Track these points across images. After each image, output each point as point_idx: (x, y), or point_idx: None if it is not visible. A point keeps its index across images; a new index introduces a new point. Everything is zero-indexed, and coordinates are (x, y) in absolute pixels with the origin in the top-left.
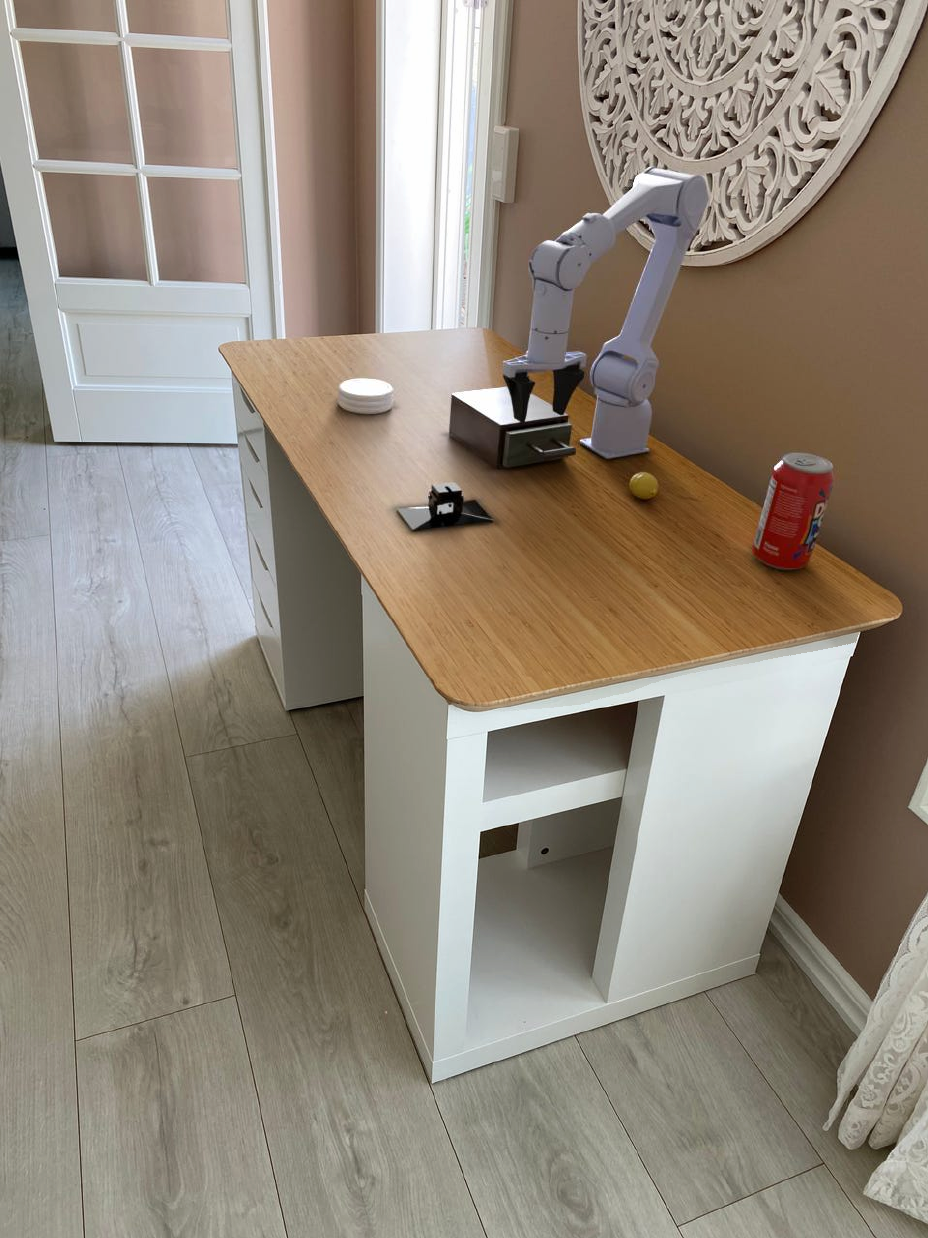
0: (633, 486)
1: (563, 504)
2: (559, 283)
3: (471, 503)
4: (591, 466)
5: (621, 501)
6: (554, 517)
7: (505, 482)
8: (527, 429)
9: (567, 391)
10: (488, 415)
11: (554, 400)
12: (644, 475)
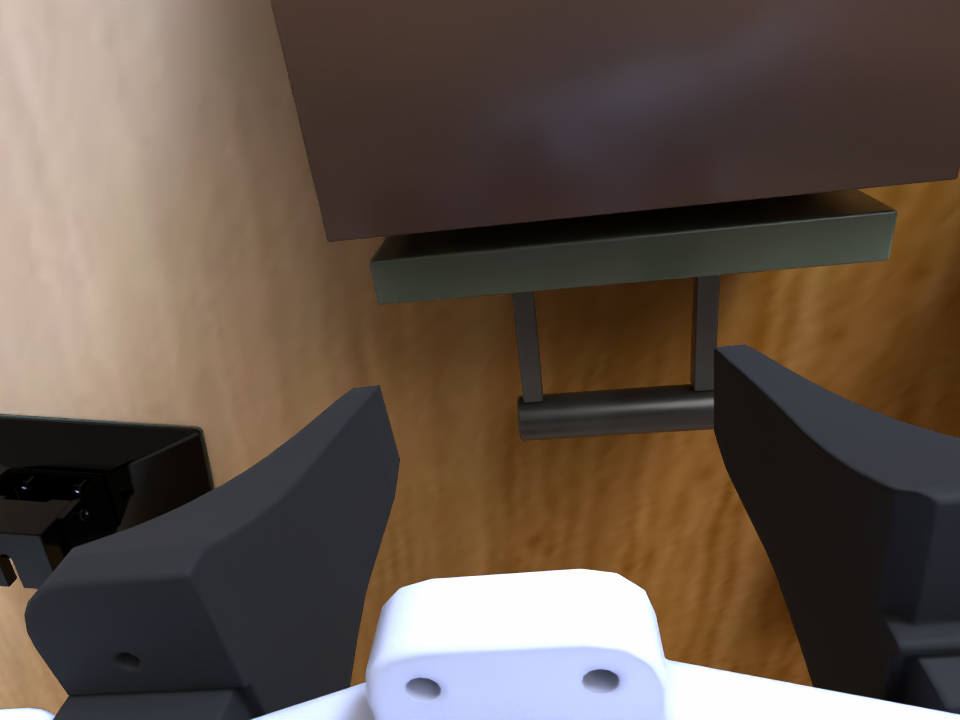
0: None
1: (512, 520)
2: None
3: (174, 460)
4: (871, 269)
5: (730, 556)
6: (434, 577)
7: (376, 315)
8: (525, 264)
9: (785, 599)
10: (299, 32)
11: (741, 391)
12: None
